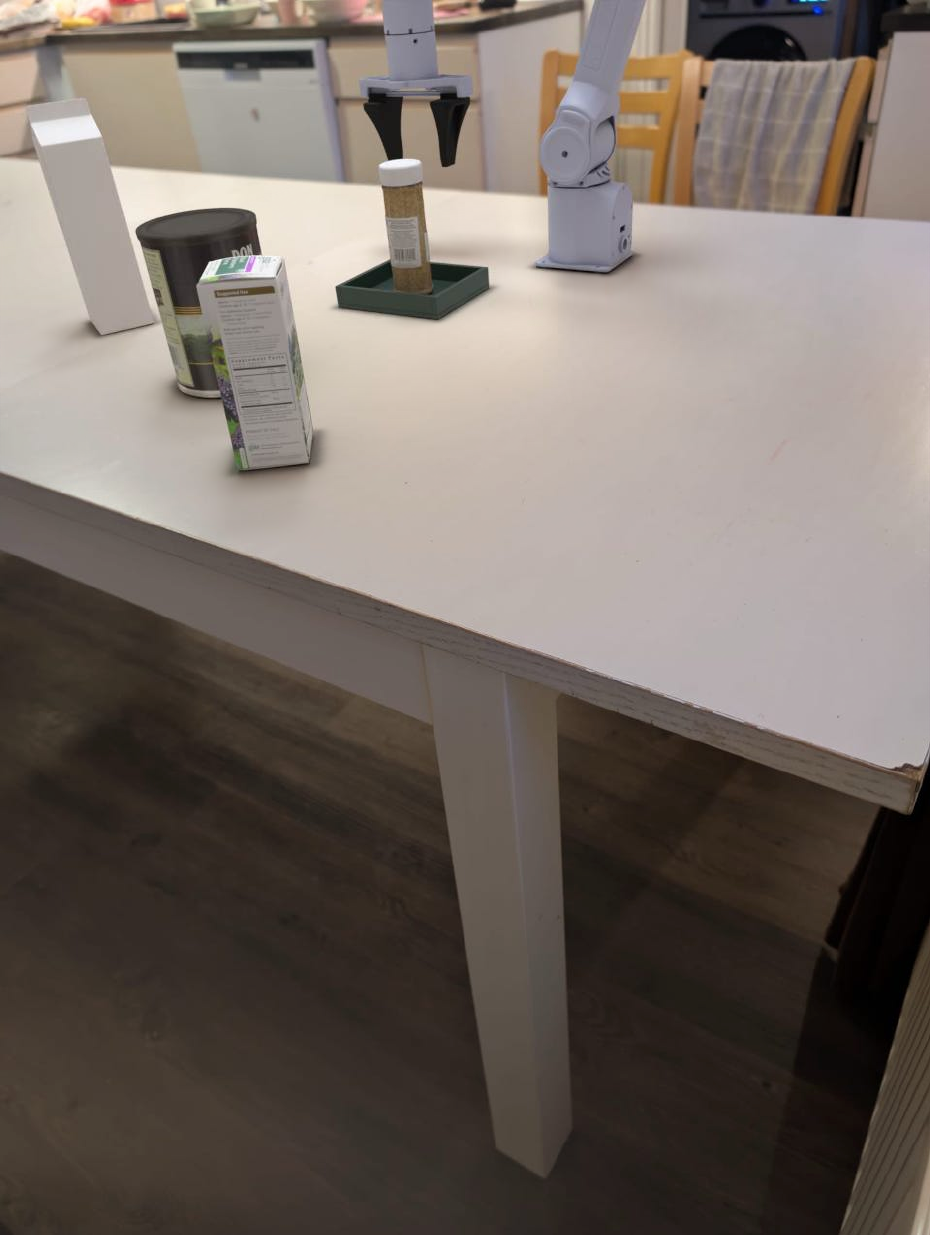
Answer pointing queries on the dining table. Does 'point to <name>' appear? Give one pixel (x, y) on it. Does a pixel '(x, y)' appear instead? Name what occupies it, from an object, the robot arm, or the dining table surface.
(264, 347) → the syrup box
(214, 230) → the coffee can
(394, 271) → the sprinkles bottle
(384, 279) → the serving tray
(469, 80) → the robot arm
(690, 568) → the dining table surface
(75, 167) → the milk
